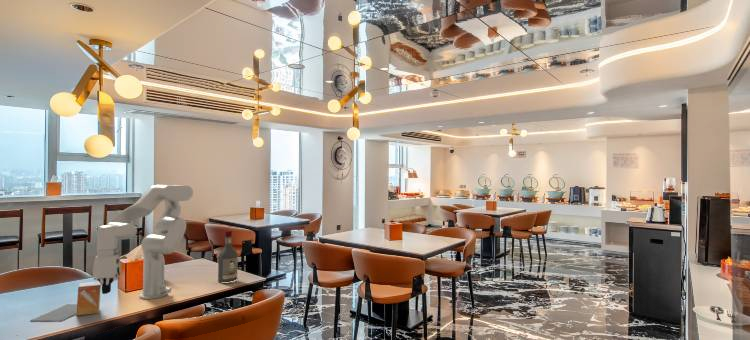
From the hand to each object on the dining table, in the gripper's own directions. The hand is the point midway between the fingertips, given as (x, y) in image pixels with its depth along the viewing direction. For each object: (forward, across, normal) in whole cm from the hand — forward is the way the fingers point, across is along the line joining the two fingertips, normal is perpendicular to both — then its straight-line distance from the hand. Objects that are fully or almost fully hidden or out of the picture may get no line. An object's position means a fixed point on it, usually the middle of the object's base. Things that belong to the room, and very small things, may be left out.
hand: (106, 292), depth 172 cm
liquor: (+9, -37, -51) cm, 64 cm away
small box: (+9, +8, 0) cm, 12 cm away
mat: (+9, +18, 0) cm, 21 cm away
